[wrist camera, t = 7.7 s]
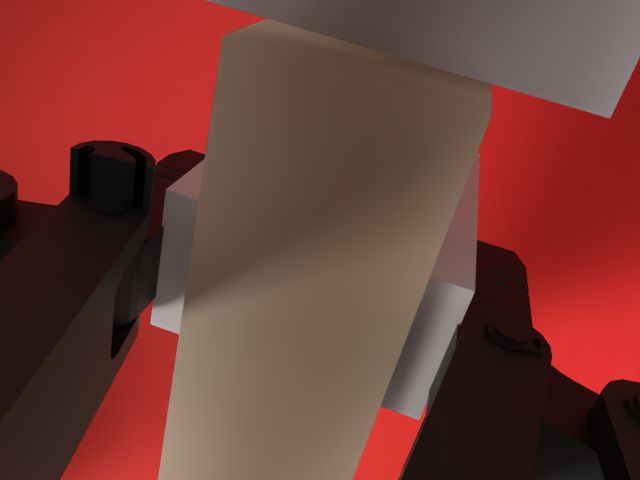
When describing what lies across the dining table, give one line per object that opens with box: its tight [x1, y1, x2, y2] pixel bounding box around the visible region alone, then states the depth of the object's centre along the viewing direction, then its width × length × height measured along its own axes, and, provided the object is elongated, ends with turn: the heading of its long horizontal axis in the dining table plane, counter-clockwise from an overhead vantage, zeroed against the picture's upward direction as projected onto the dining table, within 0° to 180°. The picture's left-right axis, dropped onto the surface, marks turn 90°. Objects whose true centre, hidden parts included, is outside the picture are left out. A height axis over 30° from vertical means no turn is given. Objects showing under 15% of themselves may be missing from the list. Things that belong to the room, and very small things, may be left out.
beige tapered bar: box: [158, 0, 640, 480], centre depth 11 cm, size 7×24×3 cm, turn 167°
